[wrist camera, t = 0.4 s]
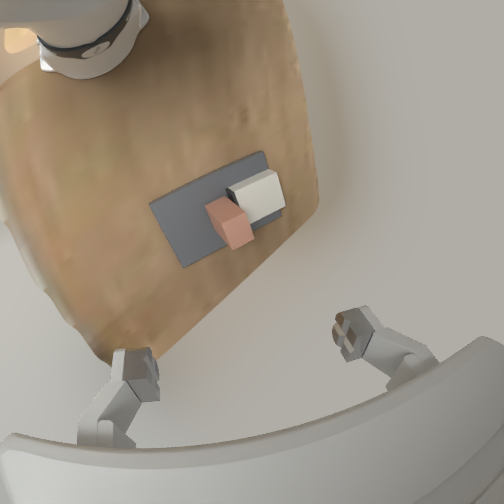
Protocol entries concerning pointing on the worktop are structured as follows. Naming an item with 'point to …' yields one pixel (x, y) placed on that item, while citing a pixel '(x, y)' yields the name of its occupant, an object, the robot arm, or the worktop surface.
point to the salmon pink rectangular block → (230, 222)
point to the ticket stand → (208, 190)
